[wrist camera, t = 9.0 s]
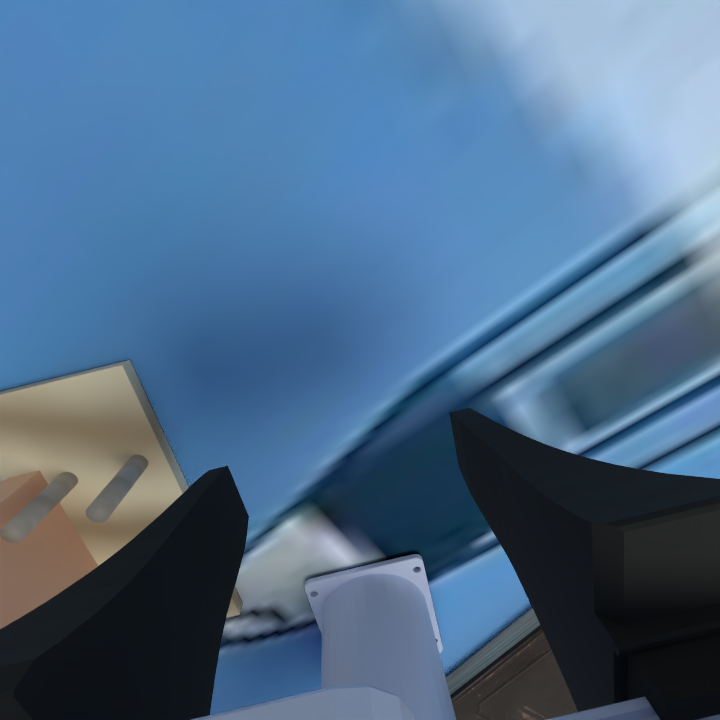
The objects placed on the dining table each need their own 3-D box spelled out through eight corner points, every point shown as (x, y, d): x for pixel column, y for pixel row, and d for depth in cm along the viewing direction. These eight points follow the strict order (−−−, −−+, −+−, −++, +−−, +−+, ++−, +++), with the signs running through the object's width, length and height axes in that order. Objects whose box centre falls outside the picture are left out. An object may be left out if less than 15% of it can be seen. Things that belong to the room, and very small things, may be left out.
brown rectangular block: (112, 589, 24) (30, 727, 17) (84, 596, 24) (-9, 736, 17) (39, 470, 21) (-94, 582, 14) (7, 478, 21) (-140, 593, 14)
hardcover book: (589, 775, 37) (605, 809, 35) (419, 685, 31) (426, 719, 29) (731, 683, 34) (758, 714, 32) (572, 562, 28) (592, 591, 26)
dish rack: (242, 603, 26) (224, 682, 22) (28, 654, 26) (-35, 743, 22) (129, 359, 20) (71, 398, 16) (-148, 427, 20) (-285, 485, 16)
